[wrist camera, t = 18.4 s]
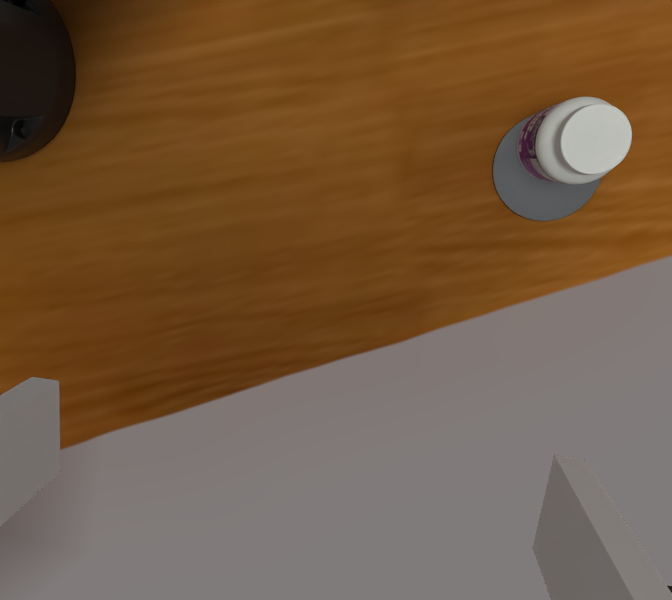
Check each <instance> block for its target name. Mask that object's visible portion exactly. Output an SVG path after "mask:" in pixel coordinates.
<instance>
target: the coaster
mask: <svg viewBox="0 0 672 600" xmlns="http://www.w3.org/2000/svg"><path fill="white" fill-rule="evenodd" d="M530 117H532V116H530ZM530 117H528V118H526V119H524V120H522V121H520V122H519V123H517V124H516V125H515V126H514V127H512V128H511V129H510V130H509V131H508V133H507V134H506V135H505V136H504V138H503V139H502V140H501V142H500V144H499V146H498V148H497V150H496V153H495V156H494V160H493V168H492V169H493V181H494V185H495V188H496V191H497V193H498V195H499V197H500V198H501V200H502V201H503V202H504V203H505V205H506V206H507V207H508V208H510V209H511V210H512V211H514V212H515V213H517V214H519V215H521V216H523V217H525V218H528V219H532V220H539V221H548V220H555V219H559V218H562V217H565V216H567V215H569V214H572V213H573V212H575V211H576V210H578V209H579V208H580V207H582V206H583V205H584V204H585V203H586V202H587V201H588V200H589V199H590V197H591V196H592V195H593V194H594V192H595V190H596V188H597V187H598V184H599V182H600V179H601V177H600V178H598V179H596V180H594V181H592V182H588V183H584V184H566V183H559V182H552V181H545V180H541V179H538V178H535V177H534V176H532V175H530V174H529V173H528V172H527V171H526V170H525V169H524V168H523V166H522V165H521V163H520V161H519V158H518V154H517V140H518V136H519V133H520V131H521V129H522V127H523V126H524V124H525V123H526V122H527V121H528V119H529V118H530Z"/></svg>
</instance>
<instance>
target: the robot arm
mask: <svg viewBox="0 0 672 600" xmlns="http://www.w3.org/2000/svg"><path fill="white" fill-rule="evenodd" d="M74 84H75V65H74V57H73V51H72V47H71V43H70V40H69V36H68V34H67V31H66V28H65V26H64V24H63V22H62V20H61V18H60V16H59V14H58V13H57V11H56V9H55V8H54V6H53V5H52V3H51V2H50V1H49V0H0V161H11V160H16V159H20V158H23V157H26V156H28V155H30V154H32V153H34V152H36V151H37V150H39V149H40V148H42V147H43V146H44V145H45V144H47V143H48V142H49V141H50V140H51V139H52V138H53V137H54V135H55V134H56V133H57V132H58V130H59V129H60V127H61V126H62V124H63V122H64V120H65V118H66V116H67V114H68V111H69V108H70V105H71V102H72V98H73V92H74ZM59 472H60V418H59V381H57V380H50V379H43V378H36V377H31V378H29V379H27V380H26V381H24V382H22V383H21V384H19V385H17V386H15V387H14V388H12V389H10V390H9V391H7V392H5V393H3V394H2V395H0V526H1V525H2V524H3V523H4V522H6V521H7V519H9V518H10V517H11V516H12V515H13V514H14V513H15V512H17V510H19V509H20V508H21V507H22V506H23V505H24V504H25V503H26V502H27V501H29V500H30V499H31V498H32V497H33V496H34V495H35V494H36V493H37V492H38V491H39V490H40V489H42V488H43V487H44V486H45V485H46V484H47V483H48V482H49V481H50V480H51V479H52V478H54V477H55V476H56V475H57V474H58V473H59ZM533 551H534V553H535V556H536V559H537V562H538V565H539V567H540V570H541V573H542V576H543V578H544V581H545V584H546V586H547V590H548V592H549V595H550V598H551V600H672V586H667V585H666V584H665V582H664V581H663V579H662V578H661V576H660V575H659V573H658V571H657V570H656V568H655V567H654V565H653V564H652V562H651V560H650V559H649V557H648V556H647V554H646V553H645V551H644V550H643V548H642V547H641V545H640V543H639V542H638V540H637V539H636V537H635V536H634V534H633V533H632V531H631V530H630V528H629V526H628V525H627V523H626V522H625V520H624V519H623V517H622V516H621V514H620V513H619V511H618V509H617V508H616V506H615V505H614V503H613V502H612V501H611V499H610V497H609V496H608V494H607V492H606V491H605V490H604V488H603V486H602V485H601V483H600V482H599V480H598V479H597V477H596V475H595V474H594V472H593V471H592V469H591V468H590V466H589V465H588V463H587V462H586V460H585V459H578V458H572V457H565V456H558V455H554V458H553V462H552V466H551V471H550V475H549V480H548V484H547V488H546V492H545V496H544V501H543V506H542V509H541V514H540V518H539V522H538V527H537V531H536V535H535V540H534V544H533Z"/></svg>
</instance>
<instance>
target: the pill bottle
mask: <svg viewBox="0 0 672 600" xmlns="http://www.w3.org/2000/svg"><path fill="white" fill-rule="evenodd" d="M631 139H632V130H631V126H630V123H629V121H628V119H627V117H626V116H625V115H624V113H623V112H621V111H620V110H619V109H617V108H616V107H614V106H612V105H610V104H609V103H608V102H606V101H604V100H601V99H599V98H594V97H577V98H573V99H569V100H567V101H564V102H561V103H559V104H556V105H553V106H551V107H548V108H546V109H543V110H541V111H539V112H538V113H536V114H535V115H533V116H532V117H530V118H529V119H528V121H527V122H526V123H525V124H524V126H523V127H522V129H521V131H520V133H519V136H518V140H517V154H518V158H519V161H520V163H521V165H522V166H523V168H524V169H525V170H526V171H527V172H528V173H529V174H530V175H532V176H534V177H535V178H538V179H541V180H545V181H552V182H559V183H566V184H584V183H588V182H592V181H594V180H596V179H598V178H600V177H602V176H603V175H605V174H606V173H607V172H609V171H610V170H611V169H612V168H614V167H615V166H616V165H618V164H619V163H620V162H621V161H622V160H623V159H624V157H625V156H626V154H627V152H628V150H629V148H630V144H631Z"/></svg>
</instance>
